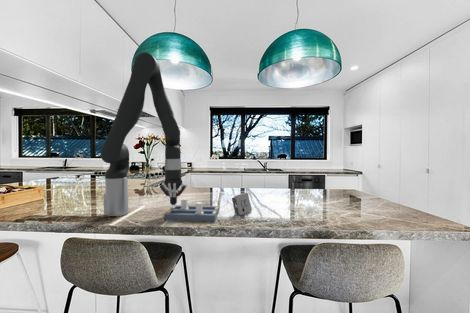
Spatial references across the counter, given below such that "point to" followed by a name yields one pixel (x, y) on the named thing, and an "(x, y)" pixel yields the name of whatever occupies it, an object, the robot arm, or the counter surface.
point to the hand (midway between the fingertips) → (173, 204)
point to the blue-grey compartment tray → (192, 213)
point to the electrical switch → (241, 204)
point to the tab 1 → (184, 203)
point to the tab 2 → (199, 208)
